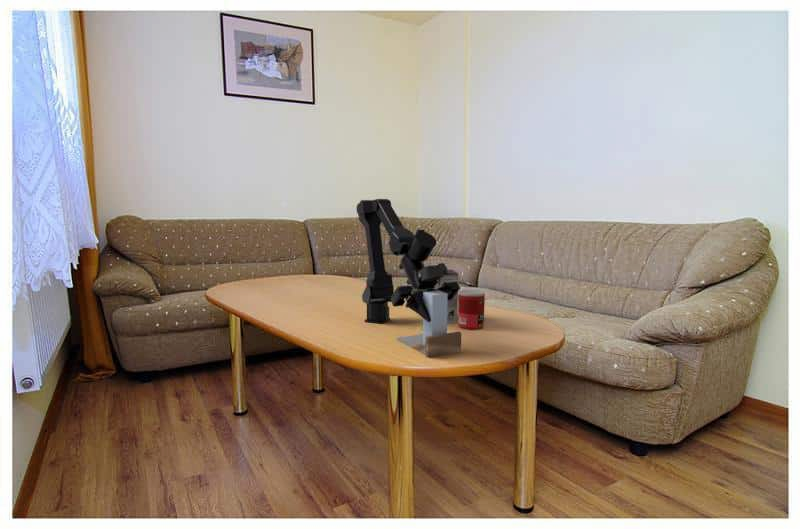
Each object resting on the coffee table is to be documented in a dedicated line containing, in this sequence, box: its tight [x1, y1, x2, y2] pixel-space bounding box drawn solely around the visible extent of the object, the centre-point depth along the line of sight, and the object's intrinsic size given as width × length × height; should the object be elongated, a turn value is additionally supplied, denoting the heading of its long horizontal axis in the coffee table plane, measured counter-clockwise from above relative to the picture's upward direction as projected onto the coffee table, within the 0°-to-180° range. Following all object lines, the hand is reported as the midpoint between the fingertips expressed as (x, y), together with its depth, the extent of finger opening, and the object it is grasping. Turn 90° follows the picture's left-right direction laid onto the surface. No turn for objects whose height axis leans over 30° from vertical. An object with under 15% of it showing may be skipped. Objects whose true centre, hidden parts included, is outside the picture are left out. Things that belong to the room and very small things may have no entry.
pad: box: [396, 333, 423, 348], centre depth 130 cm, size 9×9×1 cm
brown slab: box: [411, 331, 462, 358], centre depth 122 cm, size 9×10×5 cm
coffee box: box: [434, 269, 459, 324], centre depth 153 cm, size 9×6×16 cm
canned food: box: [457, 289, 486, 331], centre depth 144 cm, size 8×8×11 cm
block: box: [422, 291, 448, 346], centre depth 121 cm, size 4×4×15 cm
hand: (437, 320), depth 120 cm, fingers closed on block, 4 cm apart
